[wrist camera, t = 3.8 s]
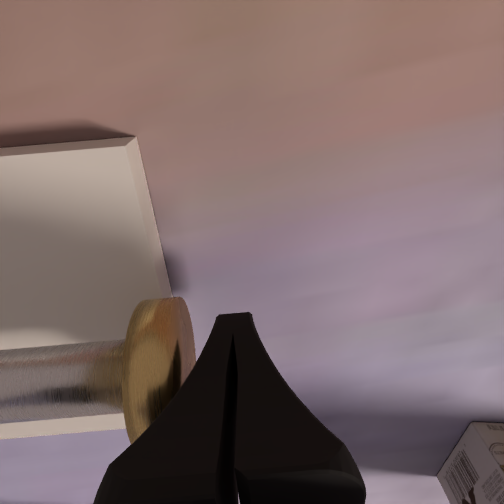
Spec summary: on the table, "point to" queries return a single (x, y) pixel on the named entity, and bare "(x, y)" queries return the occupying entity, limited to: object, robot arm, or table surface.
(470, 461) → the coffee box
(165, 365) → the shaft
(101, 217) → the shaft housing
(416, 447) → the table surface
